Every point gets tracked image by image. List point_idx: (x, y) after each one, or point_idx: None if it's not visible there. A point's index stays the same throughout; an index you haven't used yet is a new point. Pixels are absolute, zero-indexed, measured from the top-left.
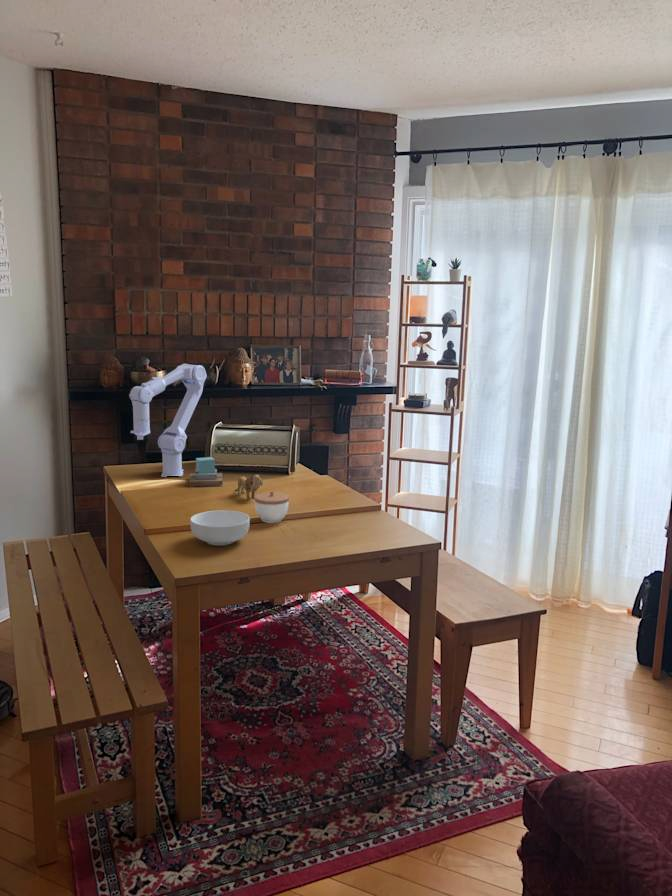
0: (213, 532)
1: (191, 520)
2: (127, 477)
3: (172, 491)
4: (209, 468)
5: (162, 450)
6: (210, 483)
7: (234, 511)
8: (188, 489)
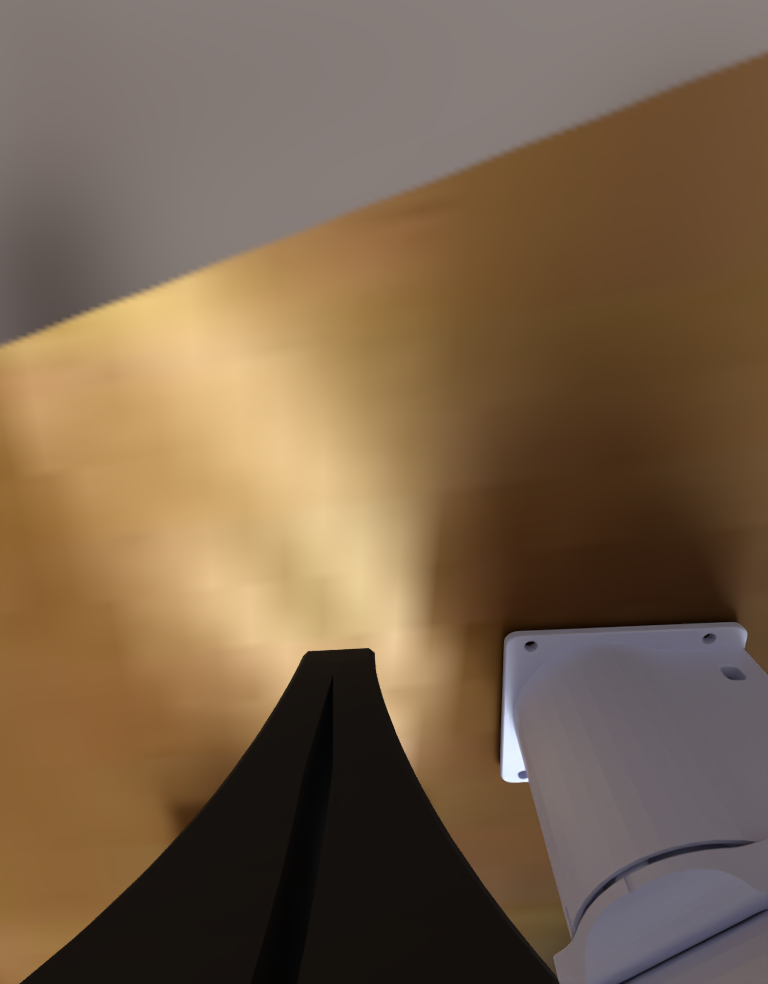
0: None
1: None
2: (557, 295)
3: (40, 745)
4: None
5: (728, 878)
6: None
7: None
8: (117, 828)
